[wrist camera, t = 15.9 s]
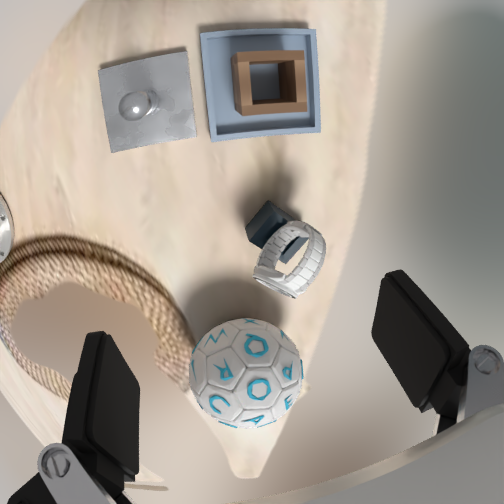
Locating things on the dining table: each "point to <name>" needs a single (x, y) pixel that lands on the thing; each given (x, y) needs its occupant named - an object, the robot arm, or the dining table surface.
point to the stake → (148, 101)
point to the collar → (289, 82)
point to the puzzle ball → (245, 373)
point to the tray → (257, 82)
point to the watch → (285, 250)
